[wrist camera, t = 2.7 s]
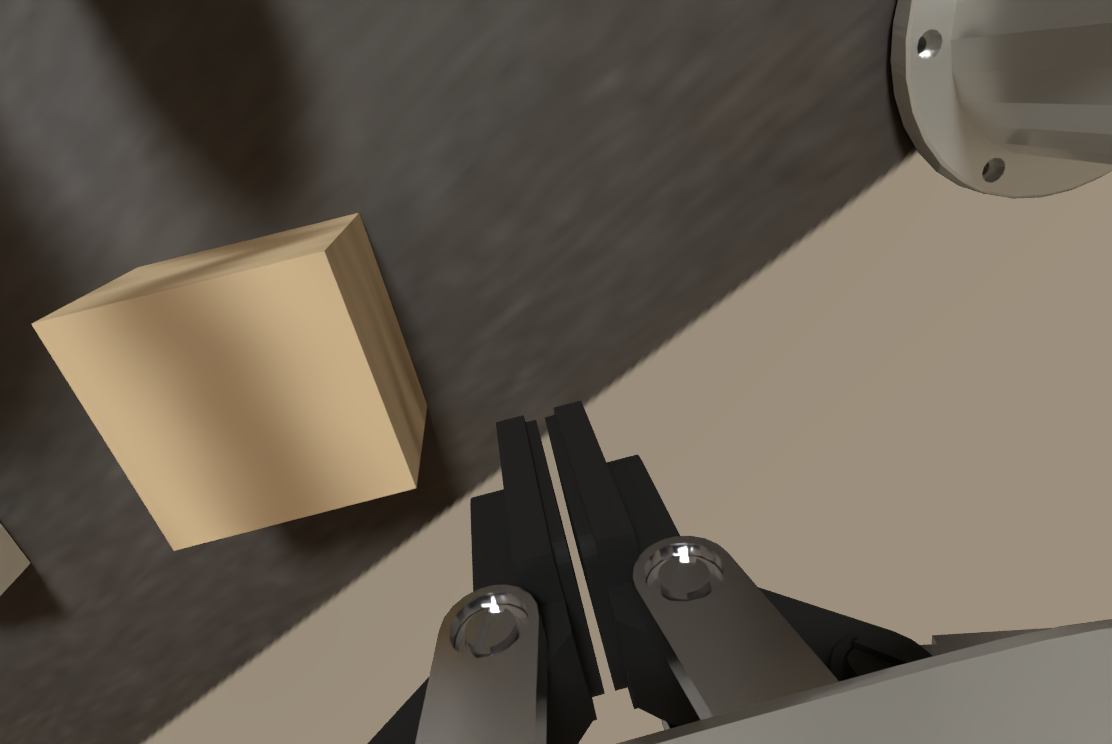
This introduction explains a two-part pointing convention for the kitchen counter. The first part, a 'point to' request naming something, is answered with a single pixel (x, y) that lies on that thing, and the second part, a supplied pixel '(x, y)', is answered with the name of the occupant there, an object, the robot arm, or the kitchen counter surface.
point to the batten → (10, 560)
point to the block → (248, 381)
